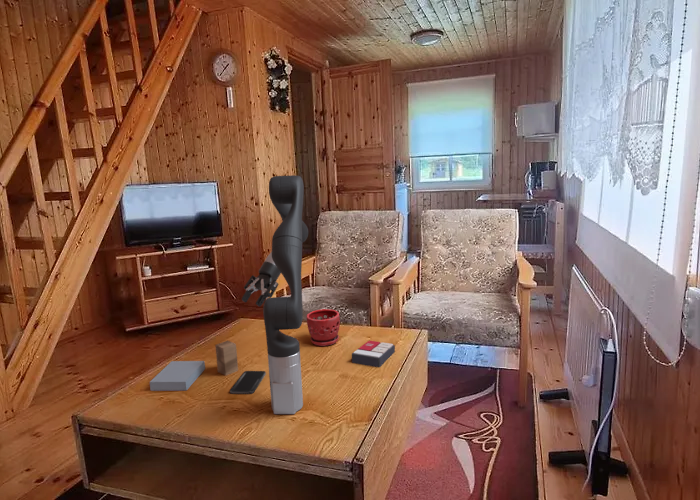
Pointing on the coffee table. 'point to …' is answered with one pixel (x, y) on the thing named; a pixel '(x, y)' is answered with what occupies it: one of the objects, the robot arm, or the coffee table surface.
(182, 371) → the base board
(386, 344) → the calculator
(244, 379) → the phone
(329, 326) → the plant pot
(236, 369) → the walnut block
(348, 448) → the coffee table surface
